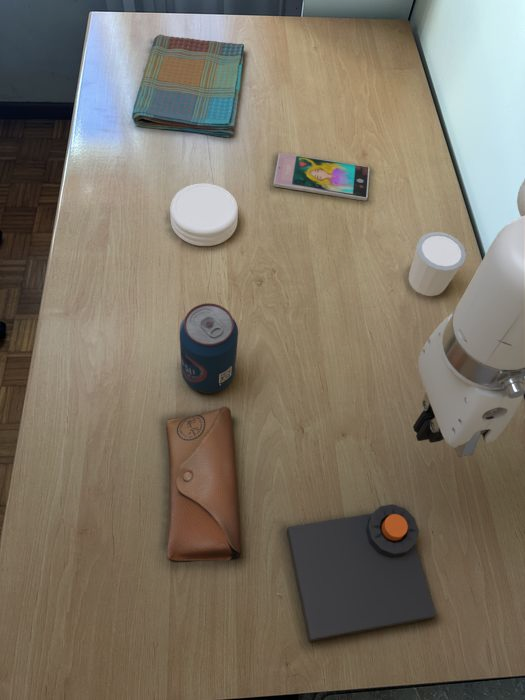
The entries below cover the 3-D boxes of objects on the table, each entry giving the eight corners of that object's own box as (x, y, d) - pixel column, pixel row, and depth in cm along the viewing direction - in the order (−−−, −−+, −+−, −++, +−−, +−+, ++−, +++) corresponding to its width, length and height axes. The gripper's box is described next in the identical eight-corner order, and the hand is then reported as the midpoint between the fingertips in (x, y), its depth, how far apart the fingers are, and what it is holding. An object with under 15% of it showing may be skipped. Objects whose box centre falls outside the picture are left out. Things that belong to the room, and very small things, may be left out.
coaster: (160, 236, 98) (159, 220, 95) (184, 191, 103) (184, 174, 100) (224, 255, 97) (225, 239, 94) (245, 208, 102) (246, 192, 99)
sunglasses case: (161, 417, 83) (188, 394, 78) (210, 426, 86) (238, 405, 82) (165, 565, 73) (196, 549, 69) (219, 567, 77) (252, 552, 73)
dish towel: (130, 127, 110) (128, 115, 108) (153, 41, 122) (152, 28, 120) (233, 139, 110) (234, 127, 108) (246, 52, 122) (247, 39, 120)
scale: (402, 510, 79) (409, 501, 76) (433, 618, 73) (443, 612, 70) (285, 529, 77) (289, 520, 74) (308, 642, 71) (312, 637, 68)
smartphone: (367, 198, 104) (273, 183, 104) (366, 201, 105) (272, 187, 105) (369, 166, 108) (278, 152, 108) (368, 170, 109) (278, 155, 109)
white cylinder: (399, 291, 96) (412, 260, 90) (409, 257, 100) (422, 225, 94) (445, 305, 96) (461, 276, 90) (454, 270, 99) (470, 239, 93)
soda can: (171, 369, 87) (166, 318, 77) (213, 342, 89) (214, 289, 79) (203, 407, 84) (203, 359, 74) (245, 377, 87) (251, 328, 77)
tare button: (400, 516, 76) (404, 512, 74) (407, 539, 74) (410, 535, 73) (378, 520, 75) (381, 515, 74) (385, 542, 74) (388, 539, 73)
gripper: (570, 416, 52) (487, 493, 67) (498, 265, 59) (438, 366, 75) (481, 431, 50) (417, 506, 66) (418, 275, 58) (374, 376, 73)
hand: (428, 432), depth 70 cm, fingers closed
